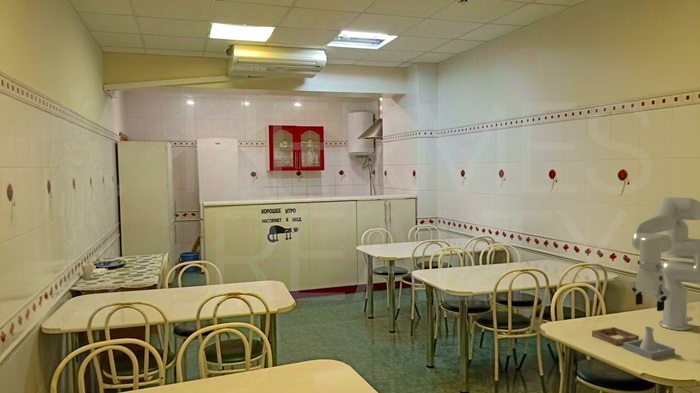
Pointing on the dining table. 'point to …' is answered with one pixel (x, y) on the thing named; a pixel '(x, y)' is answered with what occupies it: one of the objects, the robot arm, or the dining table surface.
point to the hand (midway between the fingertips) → (649, 307)
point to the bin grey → (662, 352)
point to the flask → (648, 341)
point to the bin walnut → (603, 336)
